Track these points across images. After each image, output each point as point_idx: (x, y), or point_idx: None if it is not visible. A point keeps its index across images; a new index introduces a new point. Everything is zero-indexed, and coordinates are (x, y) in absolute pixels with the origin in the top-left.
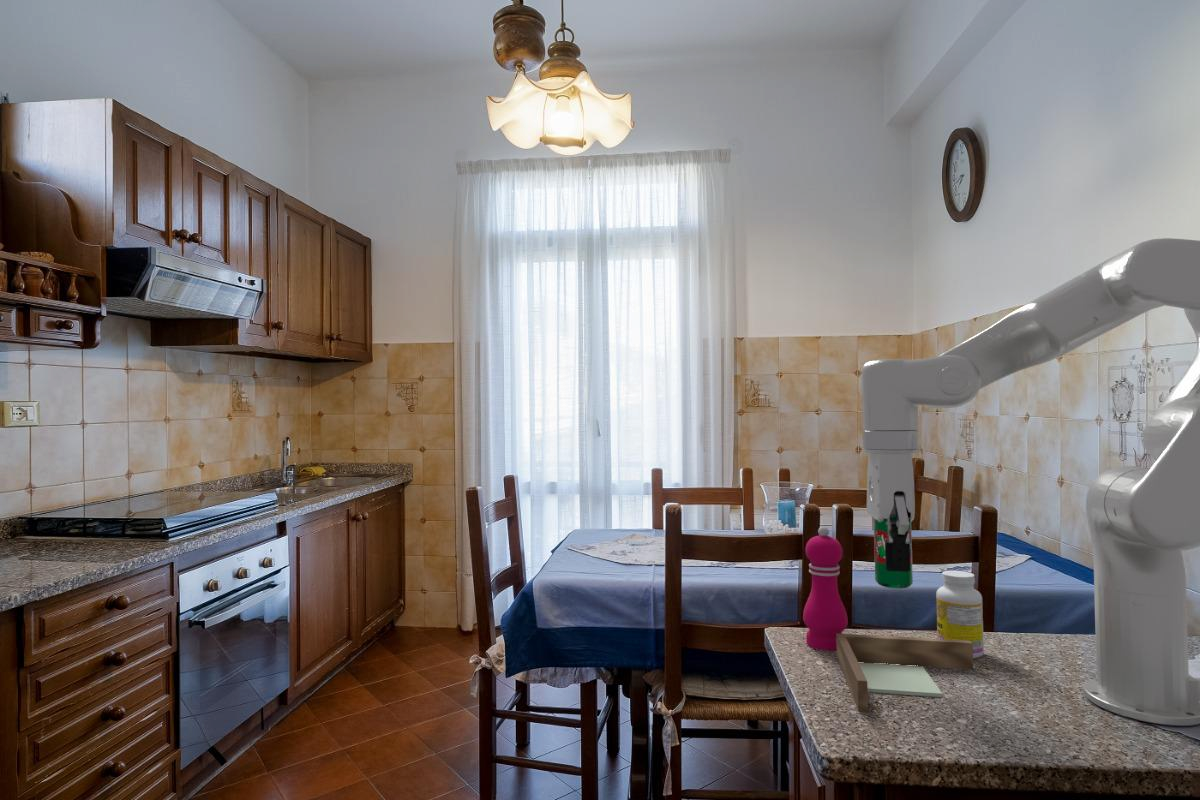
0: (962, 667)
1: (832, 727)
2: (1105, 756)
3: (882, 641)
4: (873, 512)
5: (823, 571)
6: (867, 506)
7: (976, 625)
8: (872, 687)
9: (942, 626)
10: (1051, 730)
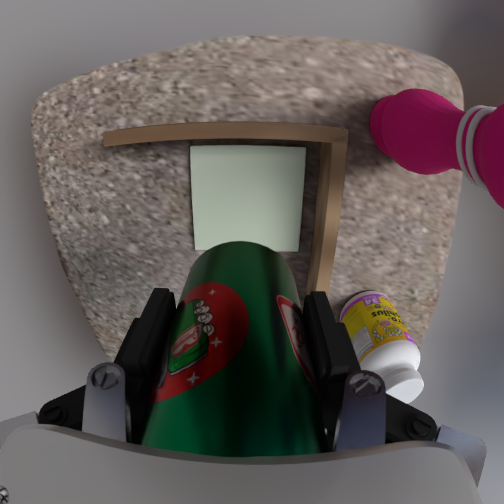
0: None
1: (77, 98)
2: (108, 334)
3: (325, 209)
4: (133, 488)
5: (465, 132)
6: (426, 484)
7: None
8: (194, 157)
9: (372, 315)
10: None
